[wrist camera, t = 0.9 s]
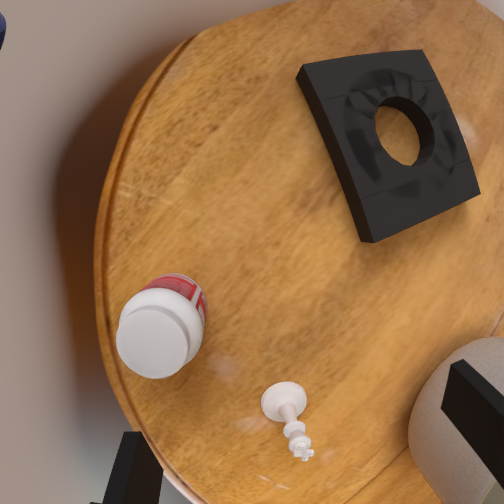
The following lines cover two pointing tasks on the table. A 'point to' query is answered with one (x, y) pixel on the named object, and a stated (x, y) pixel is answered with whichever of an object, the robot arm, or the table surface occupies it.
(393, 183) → the black pad
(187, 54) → the table surface
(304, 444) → the chess piece
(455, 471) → the planter
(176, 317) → the pill bottle
